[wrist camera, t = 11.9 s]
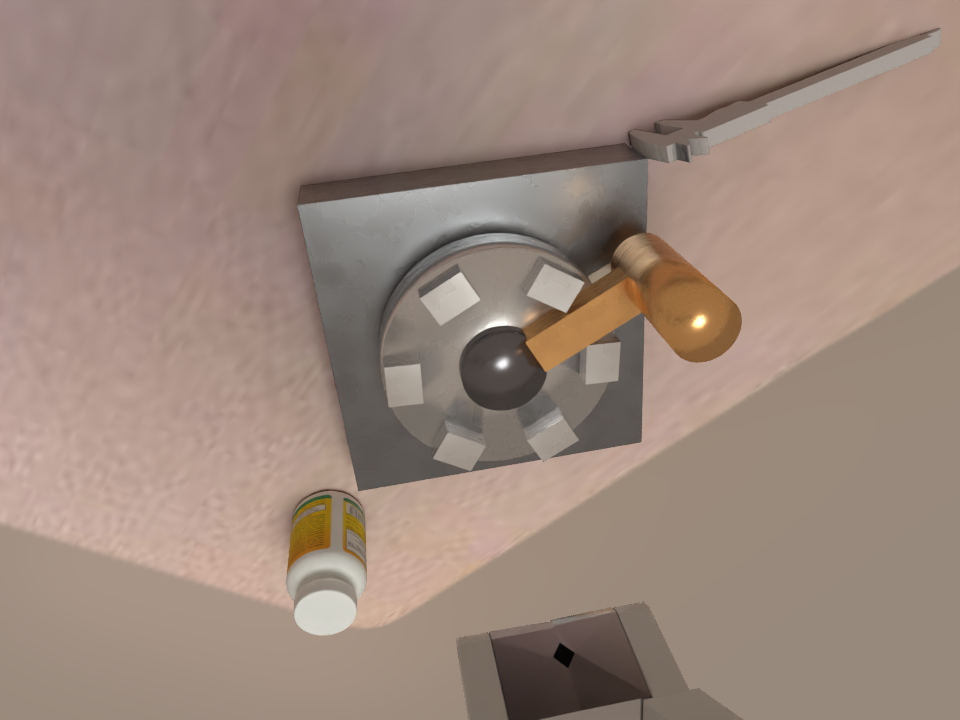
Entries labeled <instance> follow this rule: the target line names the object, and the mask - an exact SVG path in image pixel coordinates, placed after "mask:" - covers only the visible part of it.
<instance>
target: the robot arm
mask: <svg viewBox="0 0 960 720" xmlns="http://www.w3.org/2000/svg"><path fill="white" fill-rule="evenodd" d="M456 644H457V651H458V658H459V665H460V672H461V678H462V685H463V692H464V698H465V705H466V711H467V718H468V720H743V719H742V718H740V717H739V716H738V715H736V714H735V713H733V712H732V711H730V710H729V709H728V708H726V707H725V706H723V705H722V704H721V703H719V702H718V701H716V700H715V699H713V698H712V697H711V696H709V695H708V694H706V693H705V692H703V691H702V690H701V689H699V688H698V689H692V690H689V688H688V686H687V684H686V682H685V680H684V678H683V676H682V674H681V671H680V669H679V668H678V665H677V663H676V661H675V659H674V657H673V655H672V653H671V651H670V649H669V647H668V644H667V642H666V640H665V638H664V636H663V634H662V632H661V630H660V628H659V626H658V624H657V622H656V620H655V618H654V615H653V614H652V611H651V610H650V607H649V606H648V605H647V604H646V603H645V602H639V603H634V604H629V605H624V606H619V607H614V608H606V609H601V610H597V611H592V612H587V613H582V614H578V615H573V616H568V617H563V618H558V619H554V620H551V621H550V622H544V623H538V624H532V625H526V626H520V627H514V628H509V629H503V630H497V631H491V632H489V634H488V632H486V633H481V634H476V635H470V636H464V637H459V638H457V639H456Z"/></svg>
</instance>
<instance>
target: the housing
mask: <svg viewBox="0 0 960 720" xmlns="http://www.w3.org/2000/svg"><path fill="white" fill-rule="evenodd" d="M647 182H648V158H646V157H645V156H643V155H642V154H640V153H639V152H637V151H636V150H634V149H633V148H631V147H629V146H628V145H626V144H617V145H610V146H602V147H594V148H587V149H579V150H571V151H564V152H556V153H548V154H541V155H533V156H525V157H518V158H510V159H502V160H495V161H487V162H480V163H472V164H464V165H457V166H449V167H441V168H434V169H426V170H418V171H411V172H403V173H395V174H388V175H380V176H372V177H365V178H357V179H349V180H342V181H334V182H326V183H319V184H311V185H303V186H301V187H300V193H299V199H298V204H297V206H298V211H299V215H300V220H301V225H302V229H303V234H304V239H305V244H306V248H307V253H308V258H309V262H310V267H311V272H312V276H313V281H314V286H315V290H316V295H317V300H318V304H319V309H320V314H321V318H322V323H323V328H324V332H325V337H326V342H327V346H328V351H329V356H330V360H331V365H332V370H333V374H334V379H335V384H336V388H337V393H338V398H339V403H340V407H341V412H342V417H343V421H344V426H345V431H346V435H347V440H348V445H349V449H350V454H351V459H352V463H353V468H354V473H355V477H356V482H357V487H358V491H362V490H368V489H373V488H379V487H385V486H391V485H397V484H402V483H408V482H414V481H420V480H425V479H431V478H437V477H443V476H449V475H454V474H460V473H466V472H472V471H477V470H483V469H489V468H495V467H501V466H506V465H512V464H518V463H524V462H529V461H535V460H541V458H540V457H539V456H538V454H537V453H536V452H534V453H531V454H528V455H525V456H521V457H518V458H513V459H507V460H499V461H477V462H476V463H475V465H474V467H473V468H472V470H471V471H469V470H466V469H463V468H460V467H457V466H454V465H451V464H448V463H445V462H442V461H439V460H436V459H433V457H432V452H431V447H429V446H427V445H426V444H424V443H422V442H421V441H420V440H418V439H417V438H416V437H414V436H413V435H412V434H411V433H410V432H409V431H408V430H407V429H406V428H405V427H404V426H403V425H402V423H401V422H400V421H399V419H398V418H397V417H396V415H395V414H394V412H393V410H392V408H391V407H388V400H387V397H386V394H385V391H384V386H383V381H382V375H381V365H380V354H379V333H380V325H381V321H382V318H383V314H384V311H385V308H386V306H387V304H388V301H389V299H390V297H391V295H392V294H393V292H394V290H395V289H396V287H397V285H398V284H399V283H400V282H401V280H402V279H403V278H404V277H405V275H406V274H407V273H408V272H409V271H410V270H411V269H412V268H413V267H414V266H415V265H416V264H417V263H419V262H420V261H421V260H423V259H424V258H425V257H427V256H428V255H429V254H431V253H432V252H434V251H436V250H438V249H439V248H441V247H443V246H445V245H447V244H450V243H452V242H454V241H457V240H460V239H463V238H467V237H470V236H474V235H481V234H488V233H510V234H519V235H523V236H528V237H532V238H535V239H538V240H540V241H543V242H545V243H548V244H550V245H551V246H553V247H555V248H557V249H558V250H560V251H561V252H563V253H564V254H565V255H567V256H568V257H569V258H571V259H572V260H573V261H574V263H575V264H576V265H577V266H578V267H579V268H580V269H581V270H582V271H583V273H584V274H585V275H586V277H587V278H588V279H589V280H590V282H591V283H594V282H595V281H597V280H599V279H600V278H602V277H603V276H605V275H606V274H608V273H610V272H611V260H612V257H613V254H614V252H615V251H616V249H617V248H618V246H619V245H620V244H621V243H622V242H623V241H624V240H626V239H627V238H629V237H631V236H633V235H636V234H640V233H646V225H647ZM614 331H615V335H616V336H617V338H618V339H619V340H620V342H621V345H620V361H619V376H618V381H613V382H608V384H607V387H606V389H605V391H604V393H603V395H602V396H601V398H600V400H599V402H598V403H597V404H596V406H595V407H594V408H593V410H592V411H591V412H590V414H589V415H588V416H587V417H586V418H585V419H584V420H583V421H582V422H581V423H580V424H579V425H578V426H577V427H576V428H575V429H574V431H575V433H576V435H577V437H578V439H579V441H577V442H575V443H574V444H572V445H570V446H569V447H567V448H565V449H564V450H562V451H560V452H559V453H557V454H555V455H554V456H552V457H550V458H553V457H558V456H564V455H570V454H576V453H581V452H587V451H593V450H599V449H605V448H610V447H616V446H622V445H628V444H634V443H639V442H641V438H642V395H643V353H644V315H643V314H642V313H640V314H638V315H637V316H635V317H634V318H632V319H630V320H629V321H627V322H626V323H624V324H622V325H621V326H619V327H618V328H616V329H614Z"/></svg>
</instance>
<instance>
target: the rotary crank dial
mask: <svg viewBox="0 0 960 720" xmlns="http://www.w3.org/2000/svg"><path fill="white" fill-rule="evenodd" d="M640 313H642V314H643V315H644V316H645V317H646V318H647V320H648V321H649V322H650V323H651V324H652V325H653V327H654V328H655V329H656V330H657V331H658V333H659V334H660V335H661V336H662V337H663V338H664V340H665V341H666V342H667V343H668V344H669V346H670V347H671V348H672V349H673V350H674V351H675V353H676V354H677V355H678V356H680V357H681V358H682V359H684V360H687V361H690V362H706V361H710V360H712V359H715V358H717V357H719V356H720V355H722V354H723V353H725V352H726V351H727V350H728V349H729V348H730V347H731V346H732V345H733V343H734V342H735V340H736V339H737V337H738V335H739V332H740V329H741V323H742V319H741V313H740V310H739V308H738V306H737V305H736V304H735V303H734V302H733V301H732V300H731V299H730V298H729V297H727V296H726V295H725V294H724V293H723V292H722V291H721V290H719V289H718V288H717V287H716V286H715V285H714V284H713V283H711V282H710V281H709V280H708V279H707V278H706V277H705V276H704V275H702V274H701V273H700V272H699V271H698V270H697V269H696V268H694V267H693V266H692V265H691V264H690V263H689V262H688V261H686V260H685V259H684V258H683V257H682V256H681V255H680V254H678V253H677V252H676V251H675V250H674V249H673V248H672V247H670V246H669V245H668V244H667V243H666V242H665V241H664V240H662V239H661V238H660V237H658V236H657V235H654V234H650V233H640V234H636V235H633V236H631V237H629V238H627V239H626V240H624V241H623V242H622V243H621V244H620V245H619V246H618V248H617V249H616V251H615V252H614V254H613V257H612V260H611V272H610V273H608V274H606V275H605V276H603V277H602V278H600V279H599V280H597V281H595V282H594V283H591V282H590V280H589V279H588V278H587V277H586V275H585V274H584V273H583V271H582V270H581V269H580V268H579V267H578V266H577V265H576V264H575V263H574V261H573V260H572V259H571V258H569V257H568V256H567V255H565V254H564V253H563V252H561V251H560V250H558V249H557V248H555V247H553V246H551V245H550V244H548V243H545V242H543V241H540V240H538V239H535V238H532V237H528V236H523V235H519V234H510V233H488V234H481V235H474V236H470V237H467V238H463V239H460V240H457V241H454V242H452V243H450V244H447V245H445V246H443V247H441V248H439V249H438V250H436V251H434V252H432V253H431V254H429V255H428V256H427V257H425V258H424V259H423V260H421V261H420V262H419V263H417V264H416V265H415V266H414V267H413V268H412V269H411V270H410V271H409V272H408V273H407V274H406V275H405V277H404V278H403V279H402V280H401V282H400V283H399V284H398V285H397V287H396V289H395V290H394V292H393V294H392V295H391V297H390V299H389V301H388V304H387V306H386V308H385V311H384V314H383V318H382V321H381V325H380V333H379V354H380V365H381V375H382V381H383V386H384V391H385V394H386V397H387V400H388V407H391V408H392V410H393V412H394V414H395V415H396V417H397V418H398V419H399V421H400V422H401V423H402V425H403V426H404V427H405V428H406V429H407V430H408V431H409V432H410V433H411V434H412V435H413V436H414V437H416V438H417V439H418V440H420V441H421V442H422V443H424V444H426V445H427V446H429V447H431V452H432V457H433V459H436V460H439V461H442V462H445V463H448V464H451V465H454V466H457V467H460V468H463V469H466V470H469V471H471V470H472V468H473V467H474V465H475V463H476V462H477V461H499V460H507V459H513V458H518V457H521V456H525V455H528V454H531V453H534V452H536V453H537V454H538V456H539V457H540V458H541V460H542V461H543V462H544V461H546V460H547V459H549V458H550V457H552V456H554V455H555V454H557V453H559V452H560V451H562V450H564V449H565V448H567V447H569V446H570V445H572V444H574V443H575V442H577V441H579V439H578V437H577V435H576V433H575V431H574V429H575V428H576V427H577V426H578V425H579V424H580V423H581V422H582V421H583V420H584V419H585V418H586V417H587V416H588V415H589V414H590V412H591V411H592V410H593V408H594V407H595V406H596V404H597V403H598V402H599V400H600V398H601V396H602V395H603V393H604V391H605V389H606V387H607V384H608V382H613V381H618V376H619V361H620V345H621V342H620V340H619V339H618V338H617V336H616V335H615V331H614V329H616V328H618V327H619V326H621V325H622V324H624V323H626V322H627V321H629V320H630V319H632V318H634V317H635V316H637V315H638V314H640Z"/></svg>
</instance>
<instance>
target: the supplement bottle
mask: <svg viewBox="0 0 960 720" xmlns="http://www.w3.org/2000/svg"><path fill="white" fill-rule="evenodd" d="M366 581H367V567H366V528H365V514H364V511H363V509H362V507H361V505H360V504H359V502H358V501H357V500H356V499H354V498H353V497H352V496H350V495H348V494H345V493H342V492H338V491H324V492H319V493H317V494H314V495H311V496H309V497H308V498H306V499H304V500H303V501H302V502H301V503H300V504H299V505H298V507H297V508H296V510H295V512H294V515H293V521H292V529H291V538H290V549H289V559H288V569H287V578H286V585H287V590H288V593H289V595H290V597H291V598H292V600H293V601H294V618H295V621H296V623H297V624H298V626H299V627H300V628H302V629H303V630H304V631H306V632H308V633H311V634H314V635H331V634H335V633H338V632H341V631H343V630H344V629H346V628H347V627H349V626H350V625H351V623H352V622H353V621H354V619H355V617H356V613H357V600H358V599H359V598H360V596H361V595H362V593H363V591H364V589H365V586H366Z"/></svg>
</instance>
